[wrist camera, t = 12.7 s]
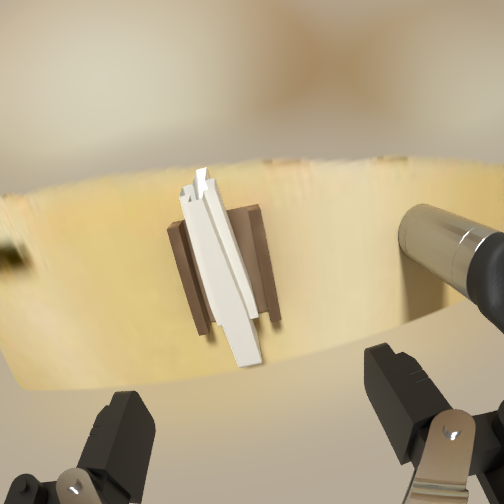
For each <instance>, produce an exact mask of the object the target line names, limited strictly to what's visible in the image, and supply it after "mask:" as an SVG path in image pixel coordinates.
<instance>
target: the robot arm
mask: <svg viewBox="0 0 504 504" xmlns="http://www.w3.org/2000/svg"><path fill="white" fill-rule="evenodd" d="M399 244H400V247H401V249H402V251H403V252H404V253H405V254H406V255H407V256H408V257H410V258H411V259H413V260H414V261H415V262H417V263H418V264H420V265H421V266H423V267H424V268H426V269H427V270H428V271H430V272H431V273H433V274H434V275H436V276H437V277H439V278H440V279H441V280H443V281H444V282H446V283H447V284H448V285H450V286H451V287H453V288H454V289H455V290H457V291H458V292H459V293H461V294H462V295H464V296H465V297H466V298H468V299H469V300H470V301H472V302H473V303H474V304H476V305H477V306H478V308H479V310H480V312H481V313H482V314H483V315H484V316H485V317H486V318H487V319H488V320H489V321H490V322H492V323H493V324H494V325H495V326H496V327H497V328H498V329H499V330H500V331H501V332H502V333H503V334H504V233H503V232H500V231H498V230H495V229H493V228H491V227H488V226H485V225H483V224H480V223H478V222H475V221H472V220H470V219H467V218H464V217H462V216H459V215H456V214H453V213H451V212H448V211H445V210H442V209H439V208H437V207H434V206H431V205H428V204H420V205H417V206H415V207H413V208H412V209H410V210H409V211H408V212H407V213H406V215H405V216H404V218H403V219H402V222H401V224H400V228H399ZM364 385H365V390H366V393H367V396H368V398H369V400H370V402H371V404H372V406H373V408H374V410H375V412H376V414H377V416H378V418H379V420H380V422H381V424H382V426H383V428H384V430H385V432H386V435H387V436H388V439H389V441H390V443H391V445H392V447H393V449H394V451H395V453H396V455H397V458H398V460H399V462H400V464H401V465H403V464H405V463H408V462H410V461H411V462H412V464H413V466H414V468H415V469H414V472H413V474H412V477H411V481H410V483H409V486H408V489H407V491H406V494H405V496H404V499H403V501H402V504H467V502H468V497H469V492H468V490H466V483H467V478H468V476H471V475H475V474H476V476H477V478H478V480H479V482H480V484H481V486H482V488H483V490H484V492H485V494H486V497H487V498H488V501H489V503H490V504H504V400H503V402H502V403H501V404H500V406H499V409H498V410H497V411H493V412H489V413H484V414H480V415H475V416H471V415H470V414H468V413H467V412H465V411H463V410H458V409H453V408H452V407H451V406H450V404H449V403H448V402H447V400H446V399H445V398H444V396H443V395H442V394H441V392H440V391H439V390H438V388H437V387H436V386H435V384H434V383H433V382H432V380H431V379H430V378H428V375H427V374H426V372H425V371H424V370H422V367H421V366H420V365H419V363H418V362H417V361H416V359H415V358H413V357H411V356H409V355H408V354H406V353H404V352H401V353H398V354H395V353H394V352H393V350H392V349H391V348H390V346H389V345H388V344H387V343H382V344H379V345H376V346H373V347H369V348H366V349H365V351H364ZM155 431H156V430H155V423H154V420H153V418H152V416H151V414H150V413H149V411H148V409H147V408H146V406H145V404H144V403H143V401H142V399H141V397H140V396H139V394H138V393H137V392H136V391H121V392H115V393H114V395H113V397H112V400H111V402H110V405H109V406H108V405H107V406H105V407H104V408H103V409H102V411H101V412H100V413H99V414H98V415H97V417H96V420H95V422H94V425H93V428H92V429H91V432H90V436H89V437H88V439H87V442H86V444H85V447H84V449H83V452H82V455H81V457H80V460H79V462H78V465H77V467H76V468H71V469H68V470H66V471H64V472H63V473H62V474H61V475H60V476H59V478H58V479H57V481H52V482H44V483H40V482H39V481H38V480H37V479H36V478H35V477H34V476H33V475H31V474H22V475H20V476H18V477H17V478H15V480H14V481H13V482H12V484H11V487H10V489H9V492H8V494H7V497H6V500H5V502H4V504H129V503H137V504H141V501H142V496H143V490H144V485H145V480H146V475H147V470H148V465H149V460H150V456H151V451H152V446H153V442H154V437H155Z"/></svg>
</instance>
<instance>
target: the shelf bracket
mask: <svg viewBox="0 0 504 504" xmlns="http://www.w3.org/2000/svg"><path fill="white" fill-rule="evenodd" d="M179 198H180V202H181V206H182V210H183V214H184V217H185V221H186V225H187V229H188V232H189V236H190V240H191V243H192V247H193V250H194V254H195V257H196V261H197V264H198V268H199V271H200V275H201V278H202V281H203V285H204V288H205V291H206V295H207V298H208V301H209V305H210V308H211V310H212V313H213V315H214V318H215V320H216V323H217V325H218V326H222V327H223V329H224V332H225V334H226V337H227V339H228V342H229V344H230V347H231V349H232V352H233V354H234V357H235V359H236V362H237V364H238V367H239V368H243V367H248V366H253V365H257V364H262V357H261V351H260V345H259V340H258V335H257V331H256V327H255V325H254V321H253V319H254V318H258V317H259V314H258V310H257V306H256V302H255V297H254V293H253V289H252V285H251V281H250V278H249V275H248V273H247V270H246V267H245V264H244V261H243V258H242V255H241V252H240V250H239V247H238V244H237V241H236V238H235V235H234V232H233V229H232V227H231V224H230V221H229V218H228V215H227V212H226V209H225V206H224V203H223V200H222V197H221V195H220V192H219V189H218V186H217V183H216V180H215V178H211V179H210V177H209V173H208V170H207V167H206V168H202V169H198V170H196V173H195V177H194V180H193V184H189V185H186V186H183V187H182V190H181V193H180V196H179Z"/></svg>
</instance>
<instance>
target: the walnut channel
mask: <svg viewBox="0 0 504 504" xmlns="http://www.w3.org/2000/svg"><path fill="white" fill-rule="evenodd" d="M226 212H227V215H228V218H229V221H230V224H231V227H232V229H233V232H234V235H235V238H236V241H237V244H238V247H239V250H240V252H241V255H242V258H243V261H244V264H245V267H246V270H247V273H248V275H249V278H250V281H251V285H252V289H253V293H254V297H255V302H256V306H257V310H258V312H263V311H269V316H270V320H271V322H274V321H279V320H281V315H280V310H279V304H278V299H277V293H276V288H275V283H274V277H273V272H272V267H271V261H270V256H269V251H268V246H267V241H266V235H265V230H264V225H263V220H262V215H261V210H260V207H259V205H258V204H255V205H250V206H246V207H241V208H236V209H231V210H227V211H226ZM167 232H168V235H169V239H170V243H171V246H172V250H173V253H174V257H175V260H176V264H177V267H178V271H179V274H180V277H181V281H182V284H183V287H184V291H185V294H186V297H187V300H188V303H189V306H190V310H191V313H192V316H193V319H194V322H195V325H196V328H197V331H198V334H199V336H200V335H206V334H209V330H210V322H211V321H216V320H215V318H214V315H213V313H212V310H211V308H210V305H209V301H208V298H207V295H206V291H205V288H204V285H203V281H202V278H201V275H200V271H199V268H198V264H197V261H196V257H195V254H194V250H193V247H192V243H191V240H190V236H189V232H188V229H187V225H186V221H185V220H182V221H177V222H173V223H172V224H171V225H170V226H169V227H168V229H167Z"/></svg>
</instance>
